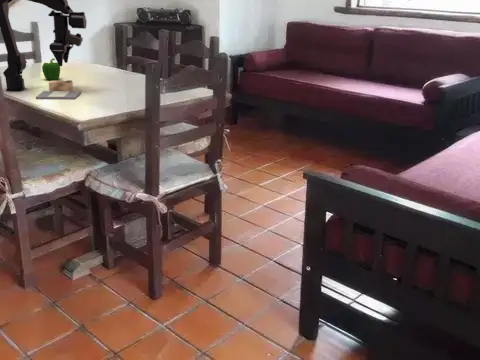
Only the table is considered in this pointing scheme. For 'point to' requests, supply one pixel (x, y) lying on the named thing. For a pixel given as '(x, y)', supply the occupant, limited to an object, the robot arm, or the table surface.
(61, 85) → the copper block with band
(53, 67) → the bell pepper
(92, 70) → the table surface
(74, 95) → the mat
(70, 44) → the robot arm
